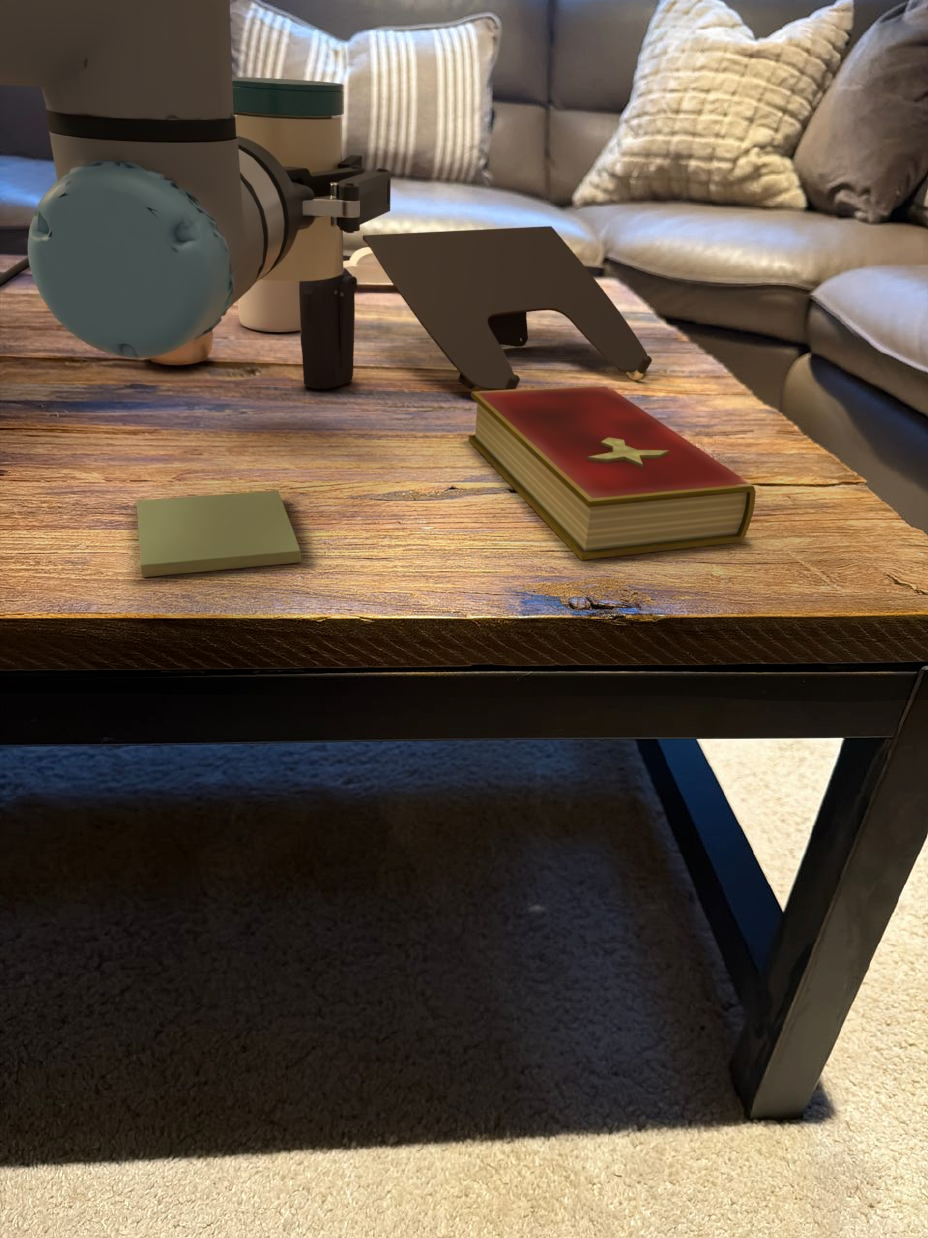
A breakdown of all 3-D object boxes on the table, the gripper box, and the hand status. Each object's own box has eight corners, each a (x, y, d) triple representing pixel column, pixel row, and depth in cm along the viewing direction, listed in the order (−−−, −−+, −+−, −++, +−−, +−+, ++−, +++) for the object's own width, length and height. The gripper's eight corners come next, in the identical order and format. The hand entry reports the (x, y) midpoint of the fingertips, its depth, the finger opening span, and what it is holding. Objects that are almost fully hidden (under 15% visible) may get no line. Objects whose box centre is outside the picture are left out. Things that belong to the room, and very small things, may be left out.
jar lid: (212, 103, 66) (210, 74, 65) (330, 108, 68) (330, 80, 67) (224, 112, 59) (222, 80, 58) (355, 117, 62) (355, 86, 61)
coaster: (137, 511, 61) (136, 500, 61) (278, 501, 64) (278, 489, 63) (142, 577, 54) (140, 565, 53) (301, 562, 56) (300, 550, 56)
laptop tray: (451, 460, 87) (482, 385, 80) (346, 295, 96) (366, 214, 89) (637, 424, 99) (679, 356, 92) (528, 280, 108) (558, 207, 101)
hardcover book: (603, 430, 79) (610, 380, 77) (746, 541, 62) (760, 481, 60) (468, 440, 76) (471, 387, 73) (581, 560, 59) (589, 497, 57)
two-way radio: (333, 373, 88) (331, 199, 81) (372, 383, 87) (373, 205, 79) (294, 387, 84) (288, 204, 77) (334, 398, 82) (331, 212, 75)
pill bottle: (328, 322, 104) (326, 172, 96) (287, 338, 98) (281, 178, 90) (268, 311, 107) (261, 164, 99) (223, 326, 100) (212, 170, 93)
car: (409, 281, 124) (410, 243, 122) (421, 292, 119) (422, 253, 117) (317, 282, 121) (316, 243, 118) (326, 293, 116) (325, 253, 113)
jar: (226, 258, 71) (213, 82, 65) (331, 258, 73) (329, 88, 67) (237, 282, 65) (225, 88, 59) (353, 280, 67) (352, 94, 61)
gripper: (33, 278, 52) (162, 217, 72) (410, 302, 52) (436, 234, 72) (7, 125, 49) (150, 104, 68) (414, 151, 48) (441, 123, 68)
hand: (297, 171), depth 70 cm, fingers closed on jar, 8 cm apart
